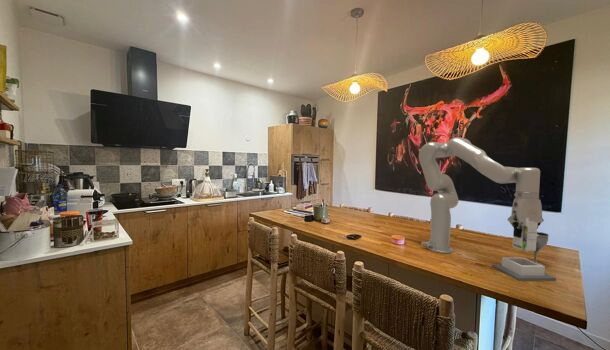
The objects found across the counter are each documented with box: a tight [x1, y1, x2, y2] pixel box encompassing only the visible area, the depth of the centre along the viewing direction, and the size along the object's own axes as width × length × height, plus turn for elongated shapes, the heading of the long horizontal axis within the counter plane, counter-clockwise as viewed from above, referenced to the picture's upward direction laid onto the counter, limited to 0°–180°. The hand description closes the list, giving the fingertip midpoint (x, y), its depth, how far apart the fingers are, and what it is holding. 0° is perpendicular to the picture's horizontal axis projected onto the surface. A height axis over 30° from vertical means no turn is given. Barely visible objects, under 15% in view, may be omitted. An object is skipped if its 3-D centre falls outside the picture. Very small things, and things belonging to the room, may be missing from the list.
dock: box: [491, 256, 557, 281], centre depth 109 cm, size 16×14×5 cm
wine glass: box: [532, 231, 549, 267], centre depth 119 cm, size 8×8×15 cm
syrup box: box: [512, 218, 539, 252], centre depth 108 cm, size 6×6×14 cm
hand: (524, 236), depth 108 cm, fingers closed on syrup box, 5 cm apart
